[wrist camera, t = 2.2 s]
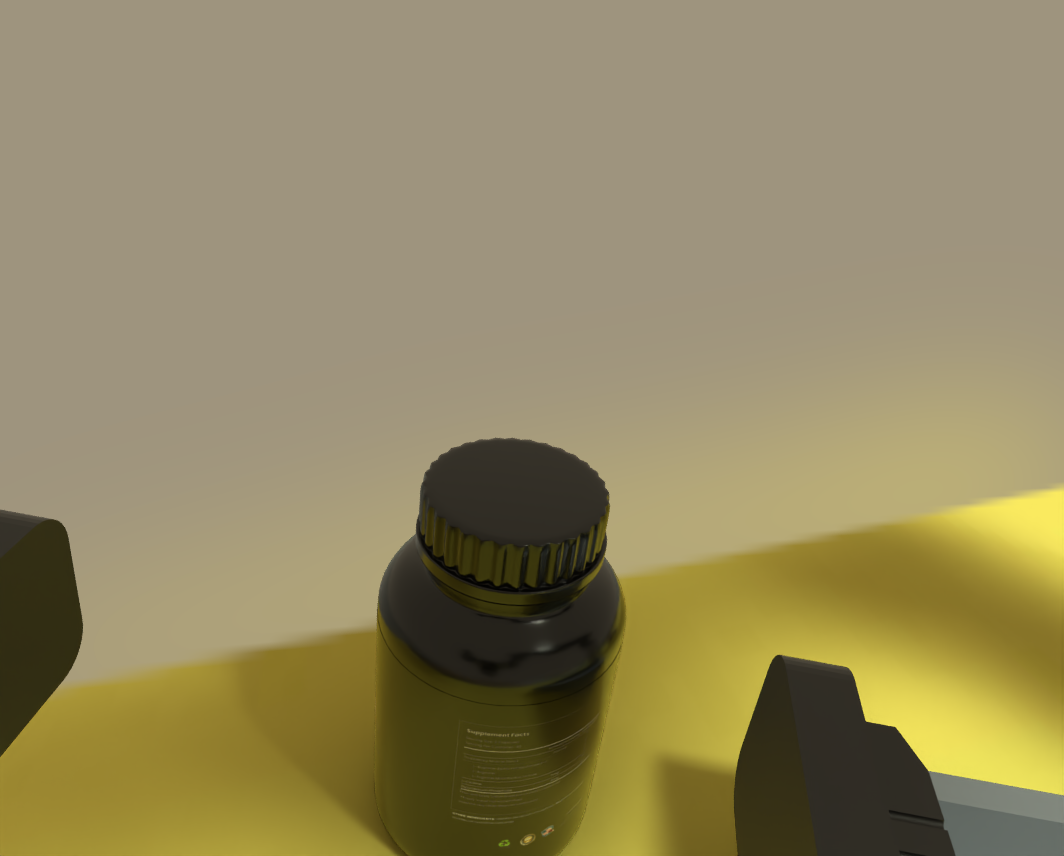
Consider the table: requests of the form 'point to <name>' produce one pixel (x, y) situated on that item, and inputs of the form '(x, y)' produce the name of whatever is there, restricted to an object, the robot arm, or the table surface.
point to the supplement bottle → (496, 654)
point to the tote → (999, 818)
